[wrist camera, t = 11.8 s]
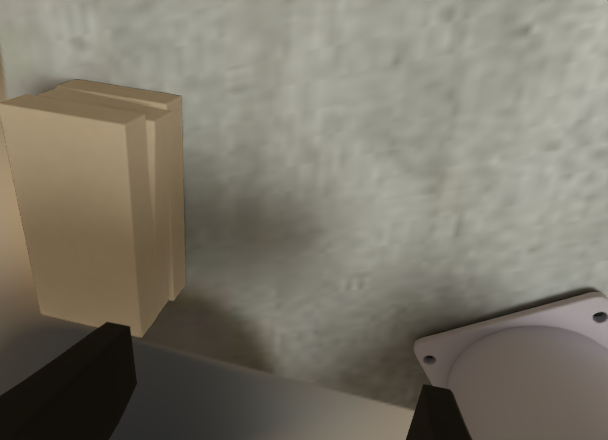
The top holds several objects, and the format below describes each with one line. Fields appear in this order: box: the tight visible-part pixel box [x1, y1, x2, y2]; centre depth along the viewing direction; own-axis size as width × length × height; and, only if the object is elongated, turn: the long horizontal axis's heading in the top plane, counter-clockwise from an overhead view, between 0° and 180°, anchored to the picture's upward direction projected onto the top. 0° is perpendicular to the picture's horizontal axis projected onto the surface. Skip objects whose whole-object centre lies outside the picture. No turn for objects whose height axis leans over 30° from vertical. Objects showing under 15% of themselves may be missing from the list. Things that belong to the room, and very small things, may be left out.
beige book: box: [36, 87, 172, 315], centre depth 20 cm, size 9×5×1 cm, turn 171°
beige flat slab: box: [0, 94, 157, 337], centre depth 18 cm, size 9×5×1 cm, turn 174°
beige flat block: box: [55, 79, 186, 301], centre depth 21 cm, size 9×5×1 cm, turn 174°
